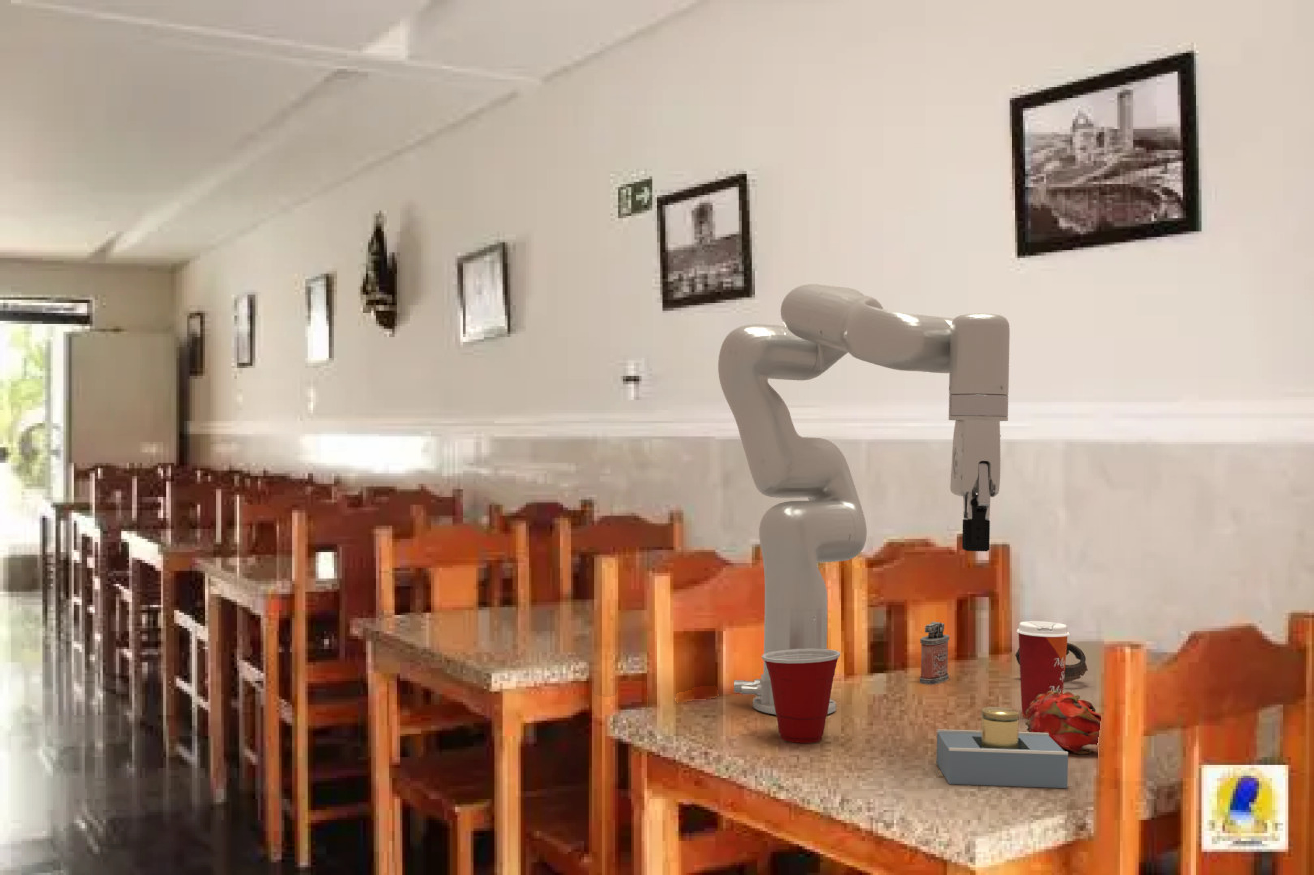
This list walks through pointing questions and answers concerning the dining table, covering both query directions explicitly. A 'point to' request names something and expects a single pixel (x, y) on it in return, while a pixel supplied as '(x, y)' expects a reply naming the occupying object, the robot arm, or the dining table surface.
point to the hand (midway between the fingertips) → (975, 550)
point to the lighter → (934, 654)
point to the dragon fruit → (1064, 720)
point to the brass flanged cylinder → (999, 728)
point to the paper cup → (1041, 659)
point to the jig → (1001, 760)
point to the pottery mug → (1071, 670)
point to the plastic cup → (801, 691)
